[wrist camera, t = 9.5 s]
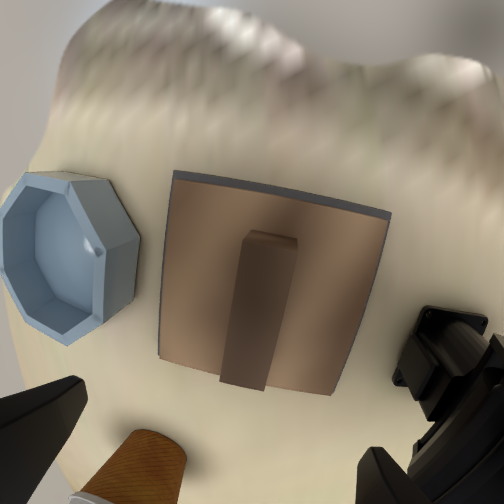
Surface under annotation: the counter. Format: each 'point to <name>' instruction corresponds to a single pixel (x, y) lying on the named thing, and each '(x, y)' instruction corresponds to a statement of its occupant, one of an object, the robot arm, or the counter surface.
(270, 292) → the cover
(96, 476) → the disposable coffee cup
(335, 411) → the counter surface
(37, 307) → the bowl
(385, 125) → the counter surface
